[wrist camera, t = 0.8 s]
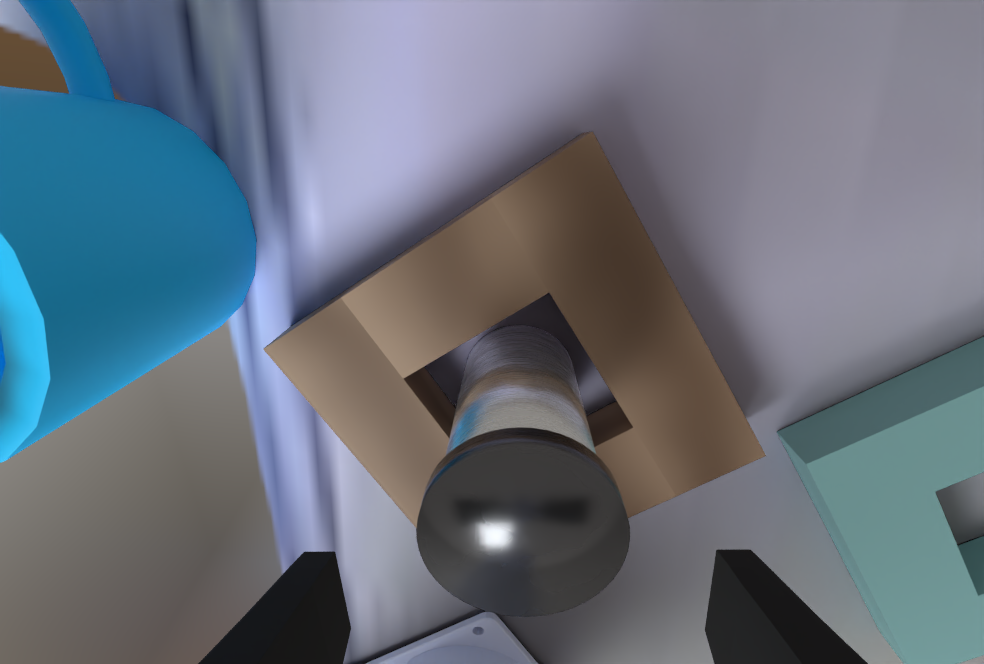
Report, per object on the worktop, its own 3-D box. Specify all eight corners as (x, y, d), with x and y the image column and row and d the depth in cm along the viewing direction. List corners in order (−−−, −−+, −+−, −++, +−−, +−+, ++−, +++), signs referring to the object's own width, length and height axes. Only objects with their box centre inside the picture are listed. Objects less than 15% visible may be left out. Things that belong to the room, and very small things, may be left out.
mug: (268, 349, 18) (92, 497, 11) (51, 332, 18) (-276, 465, 11) (228, -41, 14) (-116, -261, 6) (-55, -60, 14) (-724, -298, 6)
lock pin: (499, 449, 19) (490, 642, 12) (432, 357, 18) (373, 509, 11) (604, 394, 18) (666, 568, 11) (540, 293, 17) (560, 410, 10)
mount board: (473, 550, 21) (468, 589, 19) (289, 327, 18) (263, 349, 16) (740, 424, 18) (765, 455, 17) (583, 132, 15) (592, 131, 13)
